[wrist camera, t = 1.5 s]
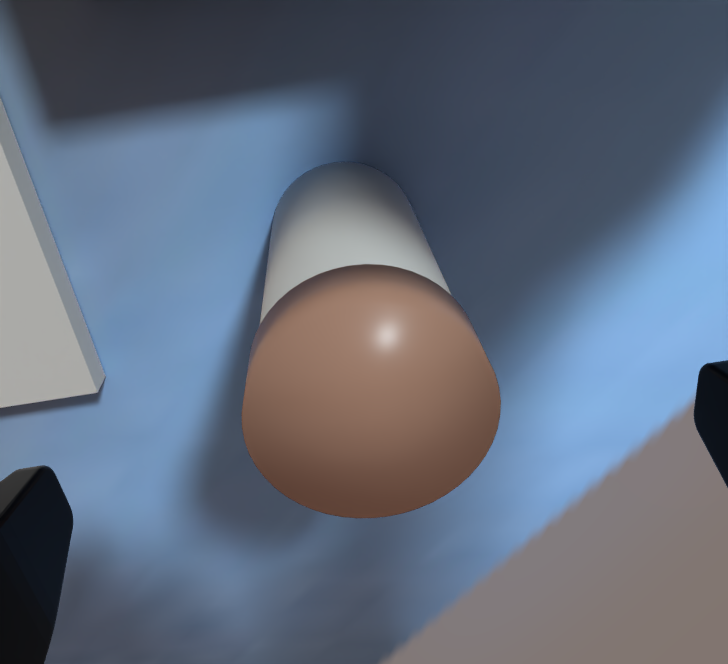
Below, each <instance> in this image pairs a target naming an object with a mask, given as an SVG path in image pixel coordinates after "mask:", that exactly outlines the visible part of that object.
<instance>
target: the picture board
mask: <svg viewBox="0 0 728 664" xmlns="http://www.w3.org/2000/svg"><path fill="white" fill-rule="evenodd" d="M105 377H106V376H105V374H104V371H103V368H102V366H101V363H100V360H99V358H98V355H97V352H96V350H95V347H94V344H93V342H92V339H91V336H90V334H89V331H88V329H87V326H86V323H85V321H84V318H83V315H82V313H81V310H80V307H79V305H78V302H77V299H76V297H75V294H74V291H73V289H72V286H71V283H70V281H69V278H68V276H67V273H66V270H65V268H64V265H63V262H62V260H61V257H60V254H59V252H58V249H57V246H56V244H55V241H54V238H53V236H52V233H51V230H50V228H49V225H48V223H47V220H46V217H45V215H44V212H43V209H42V207H41V204H40V201H39V199H38V196H37V193H36V191H35V188H34V185H33V183H32V180H31V177H30V175H29V172H28V170H27V167H26V164H25V162H24V159H23V156H22V154H21V151H20V148H19V146H18V143H17V140H16V138H15V135H14V132H13V130H12V127H11V124H10V122H9V119H8V117H7V114H6V111H5V109H4V106H3V103H2V101H1V98H0V408H2V407H9V406H15V405H21V404H28V403H34V402H41V401H47V400H54V399H60V398H67V397H73V396H80V395H86V394H92V393H98V391H99V389H100V387H101V385H102V383H103V381H104V379H105Z"/></svg>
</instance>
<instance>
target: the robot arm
mask: <svg viewBox="0 0 728 664" xmlns="http://www.w3.org/2000/svg"><path fill="white" fill-rule="evenodd" d="M694 421H695V425H696V428H697V430H698V433H699V435H700V436H701V438H702V440H703V442H704V444H705V446H706V448H707V450H708V452H709V453H710V455H711V457H712V459H713V461H714V463H715V465H716V467H717V468H718V470H719V472H720V474H721V476H722V478H723V480H724V482H725V483H726V486H727V487H728V360H726V361H720V362H713V363H707V364H705V365H704V366H703V367H702V368H701V370H700V372H699V376H698V384H697V391H696V399H695V406H694ZM72 529H73V514H72V510H71V507H70V505H69V503H68V501H67V498H66V496H65V494H64V492H63V490H62V488H61V485H60V483H59V481H58V479H57V477H56V475H55V473H54V471H53V470H52V469H51V468H50V467H48V466H45V465H43V466H36V467H30V468H23V469H19V470H16V471H14V472H13V473H12V474H10V475H9V476H8V477H6V478H5V479H4V480H2V481H1V482H0V664H44V662H45V658H46V655H47V652H48V648H49V645H50V641H51V637H52V634H53V630H54V626H55V621H56V616H57V612H58V606H59V601H60V595H61V590H62V584H63V579H64V573H65V568H66V562H67V557H68V551H69V546H70V540H71V534H72Z"/></svg>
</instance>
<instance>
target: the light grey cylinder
mask: <svg viewBox="0 0 728 664" xmlns="http://www.w3.org/2000/svg"><path fill="white" fill-rule="evenodd" d="M500 405H501V400H500V392H499V386H498V382H497V379H496V375H495V373H494V370H493V368H492V366H491V364H490V362H489V360H488V358H487V356H486V354H485V351H484V349H483V347H482V345H481V343H480V341H479V339H478V337H477V335H476V333H475V330H474V328H473V326H472V324H471V322H470V320H469V318H468V316H467V314H466V313H465V311H464V310H463V308H462V307H461V305H460V304H459V303H458V302H457V301H456V300H455V299H454V298H453V297H452V295H451V293H450V291H449V288H448V286H447V284H446V282H445V280H444V277H443V275H442V273H441V271H440V269H439V266H438V264H437V262H436V260H435V258H434V255H433V253H432V251H431V249H430V247H429V244H428V242H427V240H426V238H425V236H424V233H423V231H422V229H421V227H420V225H419V222H418V220H417V218H416V216H415V214H414V211H413V209H412V207H411V205H410V203H409V201H408V199H407V197H406V195H405V194H404V192H403V191H402V189H401V188H400V187H399V186H398V185H397V183H396V182H395V181H393V180H392V179H391V178H390V177H389V176H387V175H386V174H384V173H383V172H381V171H379V170H377V169H375V168H373V167H371V166H367V165H364V164H360V163H355V162H334V163H329V164H325V165H321V166H319V167H316V168H313V169H312V170H310V171H308V172H306V173H304V174H303V175H301V176H300V177H299V178H297V179H296V180H295V181H294V182H293V183H292V184H291V185H290V186H289V187H288V188H287V190H286V191H285V192H284V194H283V195H282V197H281V199H280V200H279V203H278V205H277V207H276V210H275V213H274V217H273V223H272V231H271V239H270V247H269V255H268V263H267V271H266V279H265V287H264V295H263V303H262V311H261V319H260V326H259V328H258V330H257V332H256V334H255V336H254V340H253V343H252V346H251V350H250V357H249V364H248V371H247V378H246V385H245V392H244V400H243V407H242V430H243V435H244V440H245V443H246V446H247V449H248V452H249V454H250V456H251V458H252V460H253V462H254V463H255V465H256V467H257V468H258V469H259V471H260V472H261V473H262V475H263V476H264V477H265V478H266V479H267V480H268V481H269V482H270V483H271V484H272V485H273V486H274V487H275V488H276V489H277V490H279V491H280V492H281V493H283V494H284V495H285V496H287V497H288V498H290V499H292V500H293V501H295V502H297V503H299V504H301V505H303V506H306V507H308V508H310V509H313V510H316V511H319V512H322V513H325V514H330V515H335V516H340V517H350V518H377V517H386V516H392V515H397V514H401V513H405V512H408V511H412V510H415V509H418V508H420V507H423V506H425V505H427V504H430V503H432V502H434V501H436V500H437V499H439V498H441V497H443V496H445V495H446V494H448V493H449V492H450V491H452V490H453V489H455V488H456V487H458V486H459V485H460V484H461V483H462V482H463V481H464V480H465V479H467V478H468V477H469V476H470V475H471V473H472V472H473V471H474V470H475V469H476V468H477V467H478V466H479V464H480V463H481V461H482V460H483V458H484V457H485V456H486V454H487V452H488V450H489V448H490V446H491V444H492V442H493V440H494V437H495V434H496V431H497V429H498V423H499V418H500Z"/></svg>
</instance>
